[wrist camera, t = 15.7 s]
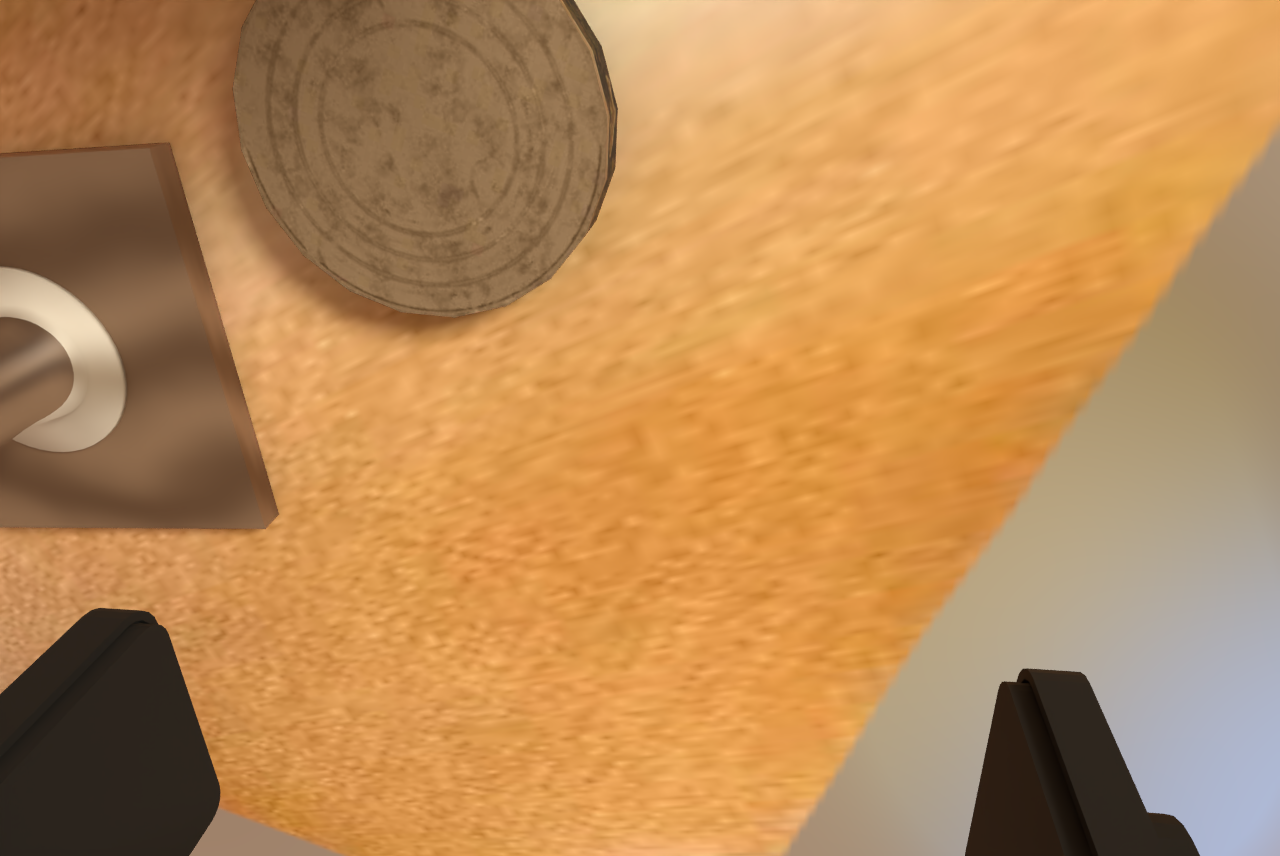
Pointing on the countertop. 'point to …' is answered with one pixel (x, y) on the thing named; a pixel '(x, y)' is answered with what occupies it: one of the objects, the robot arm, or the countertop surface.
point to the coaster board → (125, 351)
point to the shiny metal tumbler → (36, 371)
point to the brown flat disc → (428, 141)
